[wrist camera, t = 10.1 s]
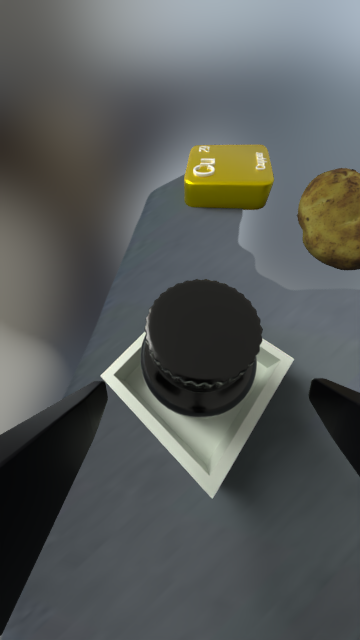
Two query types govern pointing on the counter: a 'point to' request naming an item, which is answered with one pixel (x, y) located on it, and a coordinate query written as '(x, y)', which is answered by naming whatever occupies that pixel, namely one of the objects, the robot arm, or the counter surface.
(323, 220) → the potato
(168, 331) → the supplement bottle
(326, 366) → the counter surface
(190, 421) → the sage tray
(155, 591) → the counter surface
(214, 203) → the element tile
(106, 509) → the counter surface
